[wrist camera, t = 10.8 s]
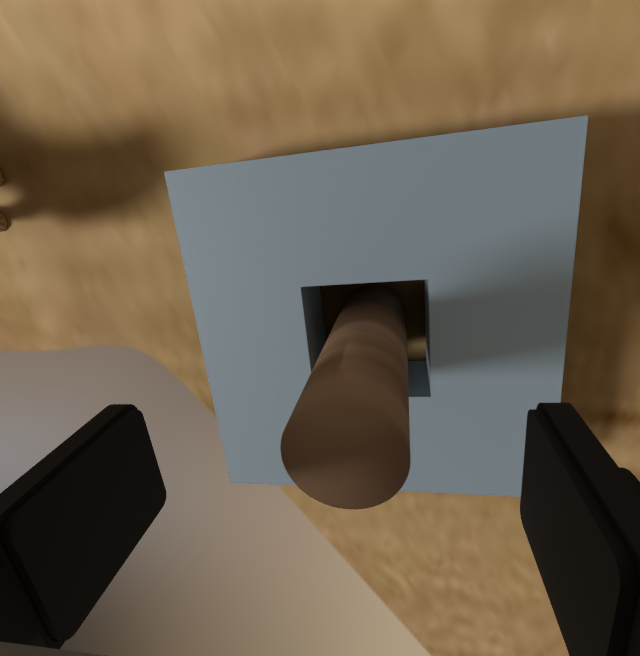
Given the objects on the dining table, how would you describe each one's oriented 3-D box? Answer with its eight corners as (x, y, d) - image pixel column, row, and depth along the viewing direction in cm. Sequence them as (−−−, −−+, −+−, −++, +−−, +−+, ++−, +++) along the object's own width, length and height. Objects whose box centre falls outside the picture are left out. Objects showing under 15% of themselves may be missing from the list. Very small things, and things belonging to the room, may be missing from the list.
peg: (339, 286, 21) (272, 398, 10) (404, 282, 21) (408, 399, 10) (344, 345, 22) (289, 505, 11) (407, 344, 22) (412, 512, 11)
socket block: (206, 173, 21) (163, 171, 17) (548, 129, 17) (588, 115, 14) (255, 439, 26) (230, 482, 22) (526, 445, 22) (551, 498, 19)
